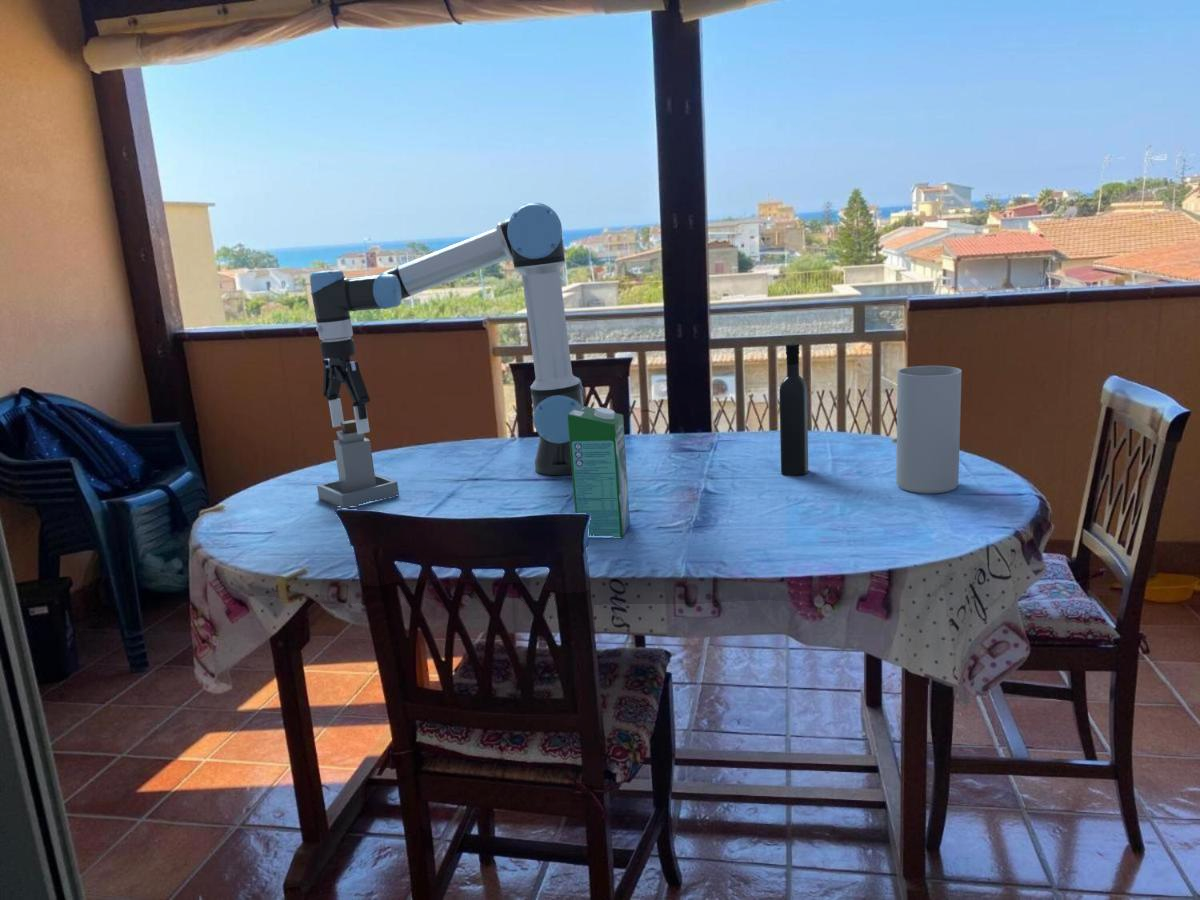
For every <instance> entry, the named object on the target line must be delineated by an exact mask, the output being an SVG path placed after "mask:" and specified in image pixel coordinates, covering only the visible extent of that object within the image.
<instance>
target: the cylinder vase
mask: <svg viewBox="0 0 1200 900" xmlns="http://www.w3.org/2000/svg"><path fill="white" fill-rule="evenodd" d="M896 384H897V389H896V390H897V393H896V394H897V395H896V402H897V403H896V478H895V480H896V485H897V486H898V487H899V489H902V490H904V491H906V492H910V493H917V494H924V495H925V494H927V495H928V494H930V495H933V494H935V495H936V494H944V493H949V492H952V491H954V490H955V489H957V487H959V486H958V485H959V482H960V481H959V480H960V479H959V475H960V471H959V470H960V447H961V446H960V437H961V409H962V408H961V405H962V404H961V402H962V369H961V368H958V367H954V366H946V365H919V366H907V367H904V368H903V367H902V368H900V369H898V370H897V383H896Z"/></svg>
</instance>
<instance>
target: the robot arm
mask: <svg viewBox="0 0 1200 900" xmlns="http://www.w3.org/2000/svg"><path fill="white" fill-rule="evenodd" d="M562 233H563V227H562V222H561V219H560V218H559V216H558V214H557V213H556V211H555V210H553V208H551V207H550V206H549V205H547V204H544V203H541V202H530V203H526V204H522V205H521V206H520V207H517V208H516V209H515V211H513V212H512V214H511V216H510V217H509V218H507V219H504V220H502V221H500V222H498V223H497V225H496V227H495V228H493V229H490V230H488V231H486V232H483V233H481V234H477V235H475V236H473V237H471V238H468V239H465V240H462V241H461V242H460V241H459V242H457V243H454V244H452V245H449V246H447V247H445V248H441V249H439V250H437V251H433V252H432V253H429V254H426V255H423V256H421V257H418V258H417V259H413V260H411V261H408V262H405V263H404V264H401V265H399V266H396V267H394V268H390V269H387V270H385V271H382V272H380V273H379V272H378V273H377V274H373V275H372V274H371V275H366V276H358V277H345V275H344V272H343V270H341V269H336V270H334V269H333V270H332V269H331V270H323V271H321V270H320V271H316V272H312V273H311V274H310V276H309V281H310V283H309V284H310V290H311V291H310V294H311V298H312V303H313V309H314V310H313V311H314V314H315V319H316V320H315V322H316V325H317V326H316V327H315V330H316V332H318V338H319V340H321V342H320V343H319V345H320V352H321V353H320V354H321V357H322V358H323V360H322V363H323V382H322V383H323V385H322V396H323V397H326V400H327V401H328V405H329V412H330V418H331V425H332V428H338V427H341V423H340V422H343V421H345V420H344V413H343V406H342V401H341V398H342V396H341V394H340V389H341V385H342V384H344V385H345V387H346V389H347V391H348V394H349V395H350V397H351V400H352V401H353V403H352V405H351V406H352V408H353V415H354V420H355V421H356V427H357V434H363V433H365V434H366V433H367V434H368V433H371V432H370V431H371V430H370V424H369V418H368V410H367V406H366V405H367V403H370V402H371V399H370V396H369V395H370V394H369V392H368V390H367V387H366V384H365V382H364V379H363V378H362V377H363V376H362V374H361V371H360V366H359V362H358V361H357V360H353V361H351V360H352V359H351V356H354V355H355V354H356V346H355V341H354V339H353V338H352V337H353V335H354V331H353V325H352V319H351V316H350V312H357V311H359V312H360V311H371V310H389V309H393V308H397V307H399V306H400V305H401V303H402V300H405V299H407V298H409V297H411V296H414V295H416V294H419V293H422V292H424V291H427V290H429V289H432V288H436V287H438V286H440V285H443V284H446V283H449V282H451V281H453V280H456V279H458V278H462V277H464V276H467V275H469V274H472V273H475V272H477V271H480V270H483V269H485V268H488V267H490V266H493V265H495V264H497V263H501V262H503V261H506V260H511V261H512V262H513V269H515V270H516V271H517V272H518V273H519V275H521V277H522V279H521V280H522V285H523V286H522V287H523V295H524V300H525V310H526V316H527V317H526V318H527V323H528V330H529V339H530V346H531V353H532V361H533V366H534V367H533V368H534V375H535V376H534V377H535V379H534V381H533V382H532V384H531V385H530V386H529V387H530V394H531V395H530V396H531V402H532V410H533V414H532V423H533V426H534V428H535V430H536V432H537V434H538V435H539V441H538V445H537V451H536V456H535V459H534V470H535V472H537V473H539V474H542V475H546V476H565V475H572V465H571V453H570V441H569V428H568V416H567V415H568V414H569V413H570V412H571V411H572V410H573V409H574V408H575V407H577V406H578V405H581V406H584V398H583V397H584V396H583V390H584V387H583V385H582V379H580V377H579V376H578V377H577V376H576V375H574V374H573V369H572V361H571V360H572V359H571V352H570V345H569V344H570V342H569V337H568V327H567V319H566V312H565V304H564V298H563V297H564V296H563V288H562V280H561V272H560V271H561V269H562V267H563V266H564V264H565V263H566V258H565V249H564V241H563V234H562Z"/></svg>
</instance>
